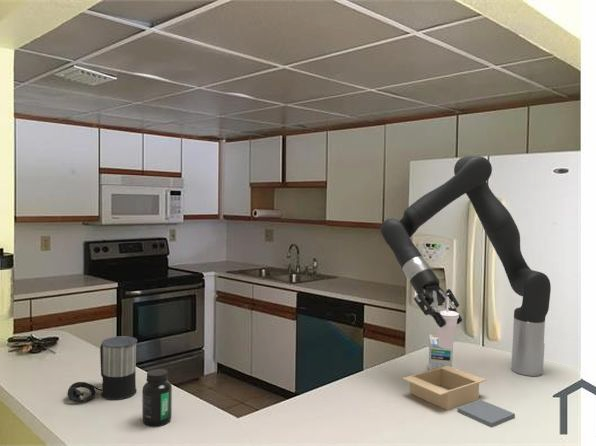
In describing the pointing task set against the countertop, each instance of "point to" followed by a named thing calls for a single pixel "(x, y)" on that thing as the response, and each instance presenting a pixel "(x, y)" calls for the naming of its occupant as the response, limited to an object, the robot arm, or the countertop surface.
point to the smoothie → (447, 327)
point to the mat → (486, 413)
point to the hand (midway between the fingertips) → (451, 324)
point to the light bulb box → (438, 354)
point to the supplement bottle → (157, 399)
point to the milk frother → (112, 371)
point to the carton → (452, 378)
